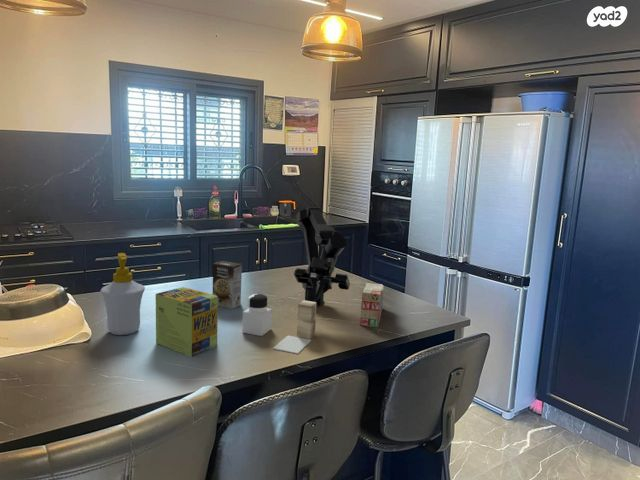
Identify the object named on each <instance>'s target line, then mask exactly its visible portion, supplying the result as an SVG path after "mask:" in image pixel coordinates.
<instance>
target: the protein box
mask: <svg viewBox="0 0 640 480" xmlns="http://www.w3.org/2000/svg"><path fill="white" fill-rule="evenodd" d="M218 307H219V306H218V296H216V295H213V293H212V294H211V293H208V292H204V291H200V290H195V289H193V288H188V287H185V286H181V287H178V288H174V289H169V290H166V291H161V292H157V293H155V344H157V345H160V346H163V347H165V348H168V349H171V350H172V351H176V352H177V353H181V354H184V355H186V356H188V357H194V356H196V355H198V354H201V353H203V352H205V351H207V350H210V349H212V348H215V347H217V346H218V319H219V317H218V309H219V308H218Z"/></svg>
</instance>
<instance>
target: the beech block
mask: <svg viewBox="0 0 640 480" xmlns="http://www.w3.org/2000/svg"><path fill="white" fill-rule="evenodd" d="M316 318H317V307H316V302H312V301H306V300H305V299H303V300H301V301H300V302H299V303H297V321H296V322H297V323H296V337H299V338H304V339H310V340H312V338H313V337H315V335H316V322H317V319H316Z"/></svg>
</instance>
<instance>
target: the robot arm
mask: <svg viewBox="0 0 640 480" xmlns="http://www.w3.org/2000/svg"><path fill="white" fill-rule="evenodd" d="M295 217H296V222H297V224H298V229H300V230H301V232H302V233H303V236H304V243H305V244H304V245H305V250H306V251H305V252H306V259H307V268H299V267H297V268H296V269H295V270H294V272H293V275H294V278H295V280H296V282H297V283H299V284H302V288H303V289H304V291H305V292H304V300H306V301H312V302H316V308H317V307H319V306H321V305H323V304H325V301H324V300H325V299H324V298H325V296H324V295H325V293H326V292H328V291H329V290H332V289H333V285H334V284H337V285H338V286H337V287H338V288H339V289H340V290H346V291H348V290H349V288H350V285H351V282H350V280H349V276H348V275H347V274H343V273H336V274H335V276H332V275H333V272H335V265H336V263H337V259H338V256H339V255H340V254H341V252H342V251H343V250H344V249H345V247H346V245H347V239H346V238H345V237H344V235H342V234H340V232H339V231H336V230H335V228H334V227H332V226H330V225H328V223H327V221H326V220H325V217H324V216H323V214H322V212H321V207H318V206H307V207H306V208H304V209H301V210H299V211H298V212H297V213H296V216H295ZM318 246H321V247H322V246H323V247H322V250H321V255H320V253H319V248H318Z"/></svg>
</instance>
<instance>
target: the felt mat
mask: <svg viewBox="0 0 640 480" xmlns="http://www.w3.org/2000/svg"><path fill="white" fill-rule="evenodd" d="M311 342H312V339H304V338H299V337H297V336H292V335H287V336H285V337H284V338H283V339H281V340H280V342H279V343H277V344H276V345H275V346H274V347H272V349H273V350H277V351H281V352H286V353H291V354H296V355H299V353H301V351H302V350H304V349H305V348H306V347H307V346H308V344H310V343H311Z"/></svg>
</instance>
